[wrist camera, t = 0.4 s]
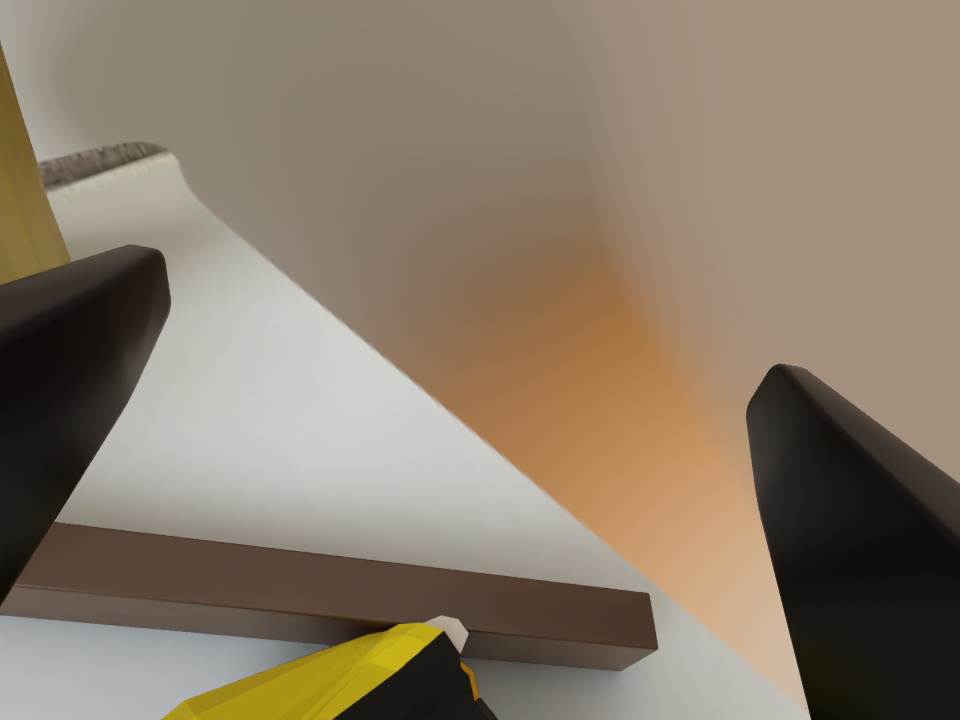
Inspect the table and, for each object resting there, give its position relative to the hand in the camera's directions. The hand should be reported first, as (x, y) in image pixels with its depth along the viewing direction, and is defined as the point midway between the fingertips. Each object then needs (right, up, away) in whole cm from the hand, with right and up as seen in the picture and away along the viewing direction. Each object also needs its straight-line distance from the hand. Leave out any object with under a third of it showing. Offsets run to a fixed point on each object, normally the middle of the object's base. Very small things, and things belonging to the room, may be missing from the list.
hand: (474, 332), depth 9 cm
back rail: (-11, -8, +12) cm, 18 cm away
